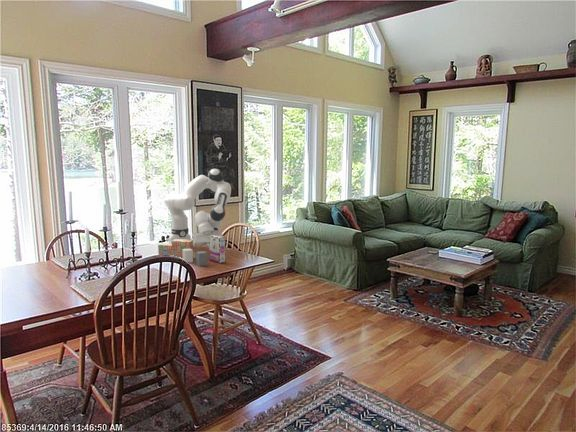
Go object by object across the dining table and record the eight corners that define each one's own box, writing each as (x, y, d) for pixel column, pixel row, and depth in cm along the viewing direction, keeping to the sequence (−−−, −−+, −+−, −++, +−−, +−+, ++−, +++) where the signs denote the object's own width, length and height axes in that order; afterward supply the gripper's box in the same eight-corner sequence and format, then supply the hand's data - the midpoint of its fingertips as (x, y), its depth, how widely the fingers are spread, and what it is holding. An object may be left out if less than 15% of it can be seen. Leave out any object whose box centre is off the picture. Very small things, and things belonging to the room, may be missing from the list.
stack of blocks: (158, 258, 266) (157, 240, 264) (162, 256, 272) (161, 238, 270) (190, 260, 264) (189, 241, 262) (193, 257, 270) (193, 239, 268)
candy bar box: (225, 262, 260) (225, 237, 257) (219, 263, 256) (219, 238, 254) (215, 258, 268) (215, 234, 265) (209, 260, 264) (209, 235, 262)
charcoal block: (196, 264, 254) (196, 251, 252) (203, 263, 256) (203, 250, 255) (199, 266, 250) (199, 253, 248) (206, 265, 252) (206, 252, 251)
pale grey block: (182, 261, 260) (182, 249, 259) (190, 260, 263) (189, 248, 262) (185, 263, 256) (185, 250, 255) (192, 262, 259) (192, 249, 257)
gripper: (192, 230, 268) (198, 248, 262) (221, 228, 279) (227, 244, 273) (190, 236, 273) (195, 253, 266) (218, 233, 284) (224, 249, 277)
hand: (212, 249), depth 270 cm, fingers closed
